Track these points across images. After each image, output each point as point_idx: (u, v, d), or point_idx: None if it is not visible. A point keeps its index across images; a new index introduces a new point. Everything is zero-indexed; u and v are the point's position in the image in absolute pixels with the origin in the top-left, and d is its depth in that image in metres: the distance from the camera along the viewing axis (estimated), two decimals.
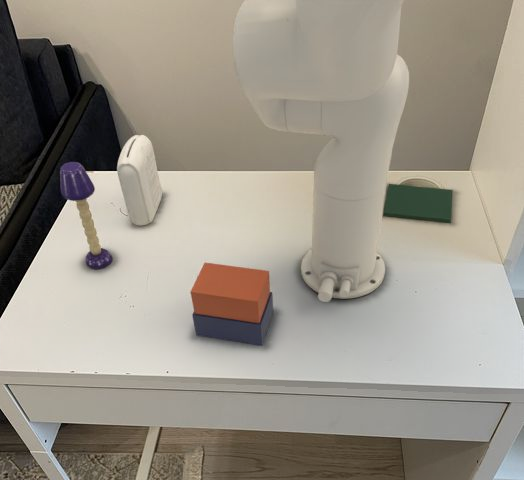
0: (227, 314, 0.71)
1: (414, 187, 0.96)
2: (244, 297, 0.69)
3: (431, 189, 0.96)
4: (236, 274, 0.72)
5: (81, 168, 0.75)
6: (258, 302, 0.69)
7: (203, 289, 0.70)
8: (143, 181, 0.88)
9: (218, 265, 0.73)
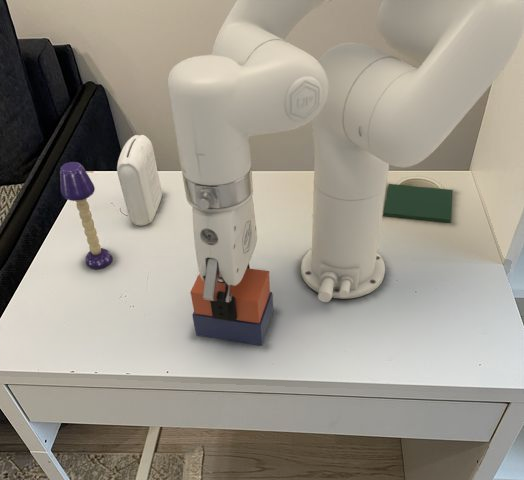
0: None
1: (414, 187, 0.96)
2: (243, 297, 0.69)
3: (431, 189, 0.96)
4: None
5: (81, 168, 0.75)
6: (258, 302, 0.69)
7: (203, 289, 0.70)
8: (143, 181, 0.88)
9: None
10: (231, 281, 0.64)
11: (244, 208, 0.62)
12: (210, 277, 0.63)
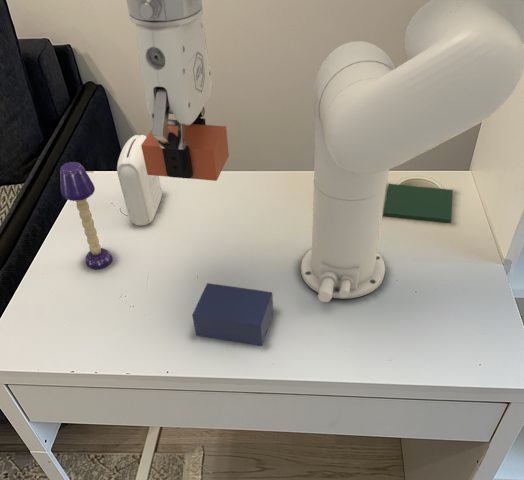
0: None
1: (414, 187, 0.96)
2: (198, 147, 0.64)
3: (431, 189, 0.96)
4: (190, 129, 0.67)
5: (81, 168, 0.75)
6: (214, 152, 0.64)
7: (155, 142, 0.65)
8: (143, 181, 0.88)
9: None
10: (182, 117, 0.59)
11: (194, 33, 0.57)
12: (159, 110, 0.58)
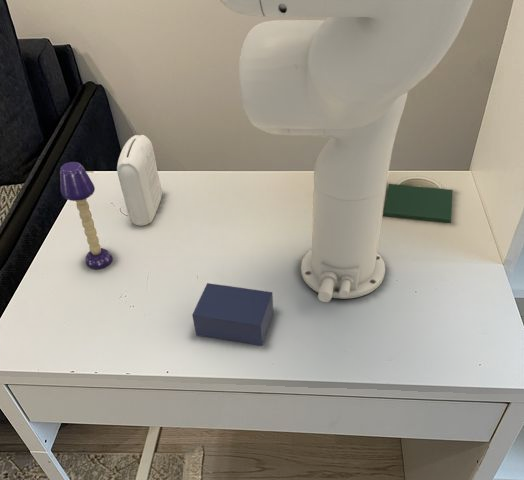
0: None
1: (414, 187, 0.96)
2: None
3: (431, 189, 0.96)
4: None
5: (81, 168, 0.75)
6: None
7: None
8: (143, 181, 0.88)
9: None
10: None
11: None
12: None
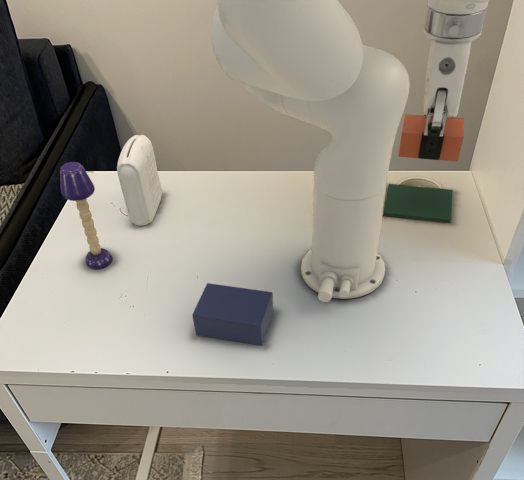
0: None
1: (414, 187, 0.96)
2: (450, 134, 0.81)
3: (431, 189, 0.96)
4: None
5: (81, 168, 0.75)
6: (462, 139, 0.81)
7: (412, 130, 0.83)
8: (143, 181, 0.88)
9: (418, 115, 0.86)
10: (453, 111, 0.76)
11: None
12: (439, 105, 0.75)
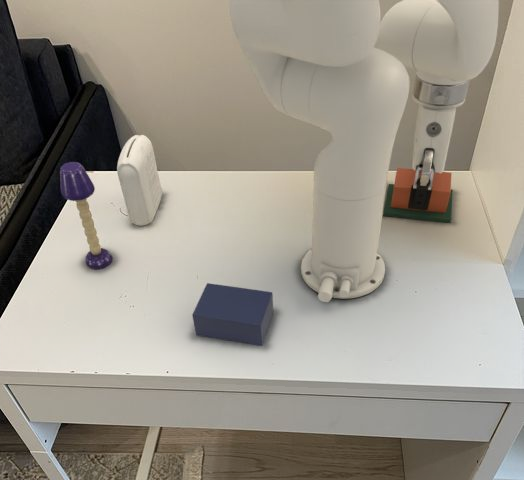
0: None
1: None
2: (438, 189, 0.88)
3: None
4: None
5: (81, 168, 0.75)
6: (449, 193, 0.88)
7: (403, 184, 0.90)
8: (143, 181, 0.88)
9: (409, 169, 0.93)
10: (439, 168, 0.83)
11: None
12: (428, 160, 0.81)
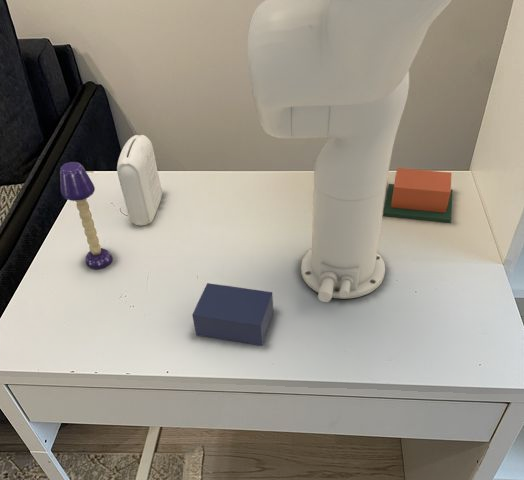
0: (419, 206, 0.91)
1: None
2: (438, 189, 0.88)
3: None
4: (425, 174, 0.91)
5: (81, 168, 0.75)
6: (449, 193, 0.88)
7: (403, 184, 0.90)
8: (143, 181, 0.88)
9: (409, 169, 0.93)
10: None
11: None
12: None
